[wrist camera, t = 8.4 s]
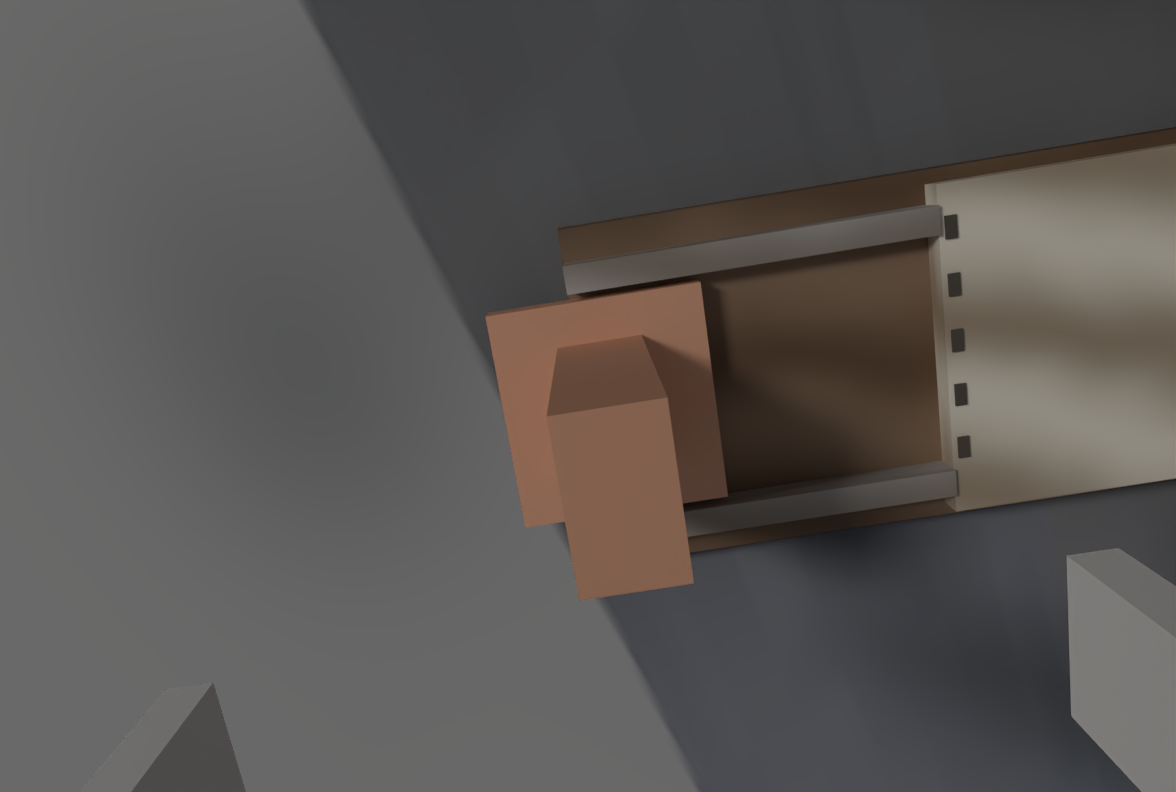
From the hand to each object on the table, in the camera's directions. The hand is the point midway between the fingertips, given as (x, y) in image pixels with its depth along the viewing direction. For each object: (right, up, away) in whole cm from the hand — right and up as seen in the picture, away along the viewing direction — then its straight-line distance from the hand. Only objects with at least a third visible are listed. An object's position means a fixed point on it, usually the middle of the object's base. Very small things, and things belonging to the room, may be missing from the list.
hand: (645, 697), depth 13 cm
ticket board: (+13, +7, +20) cm, 24 cm away
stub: (0, +4, +18) cm, 19 cm away
